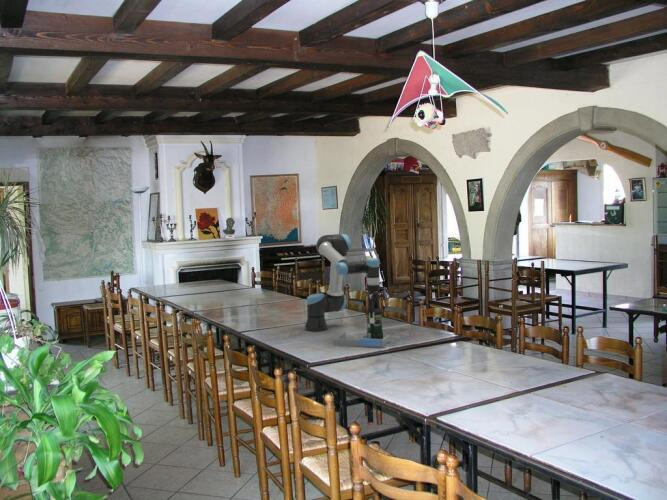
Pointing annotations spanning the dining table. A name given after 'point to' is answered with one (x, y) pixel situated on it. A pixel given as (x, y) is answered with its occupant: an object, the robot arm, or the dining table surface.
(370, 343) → the divided storage rack
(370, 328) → the coffee jar
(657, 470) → the dining table surface
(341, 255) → the robot arm
